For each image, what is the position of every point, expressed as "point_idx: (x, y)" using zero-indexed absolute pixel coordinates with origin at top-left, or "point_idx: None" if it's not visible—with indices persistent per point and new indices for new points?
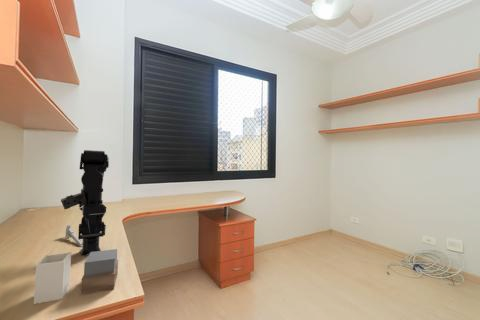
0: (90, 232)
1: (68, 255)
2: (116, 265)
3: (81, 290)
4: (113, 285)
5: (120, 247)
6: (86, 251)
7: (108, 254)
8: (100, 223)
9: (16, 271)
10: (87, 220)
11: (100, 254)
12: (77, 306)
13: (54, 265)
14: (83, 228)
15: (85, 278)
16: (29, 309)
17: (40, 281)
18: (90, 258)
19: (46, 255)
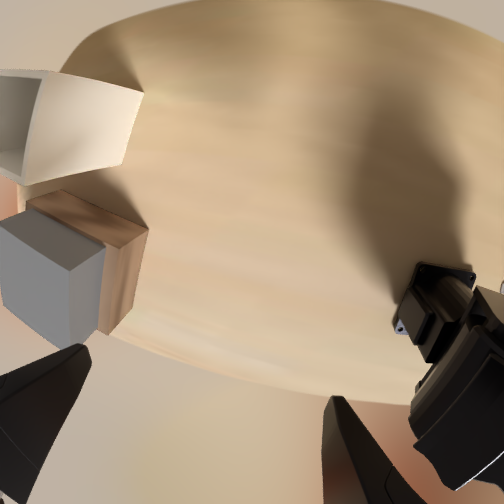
0: (70, 348)
1: (3, 174)
2: None
3: (51, 193)
4: None
5: (377, 389)
6: (419, 287)
7: (30, 309)
8: (417, 445)
9: (421, 35)
10: (342, 457)
11: (35, 290)
12: None
13: None
14: (473, 350)
15: (26, 210)
16: None
17: (36, 88)
18: (14, 248)
19: (47, 73)
